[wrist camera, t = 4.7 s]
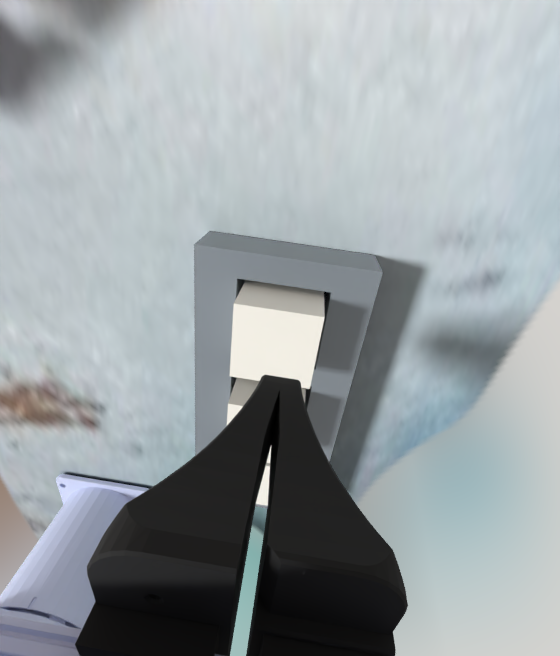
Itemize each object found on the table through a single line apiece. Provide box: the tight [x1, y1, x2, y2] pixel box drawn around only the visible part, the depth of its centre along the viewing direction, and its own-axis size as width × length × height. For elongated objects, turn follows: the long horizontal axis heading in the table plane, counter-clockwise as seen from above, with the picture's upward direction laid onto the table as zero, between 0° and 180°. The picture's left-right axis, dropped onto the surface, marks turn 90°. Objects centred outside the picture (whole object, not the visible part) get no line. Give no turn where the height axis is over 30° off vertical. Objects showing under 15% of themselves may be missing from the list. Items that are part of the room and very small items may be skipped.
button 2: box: [230, 280, 325, 389], centre depth 16 cm, size 4×4×3 cm
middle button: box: [227, 378, 306, 463], centre depth 19 cm, size 4×4×3 cm
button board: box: [194, 231, 383, 508], centre depth 21 cm, size 18×8×2 cm, turn 174°
